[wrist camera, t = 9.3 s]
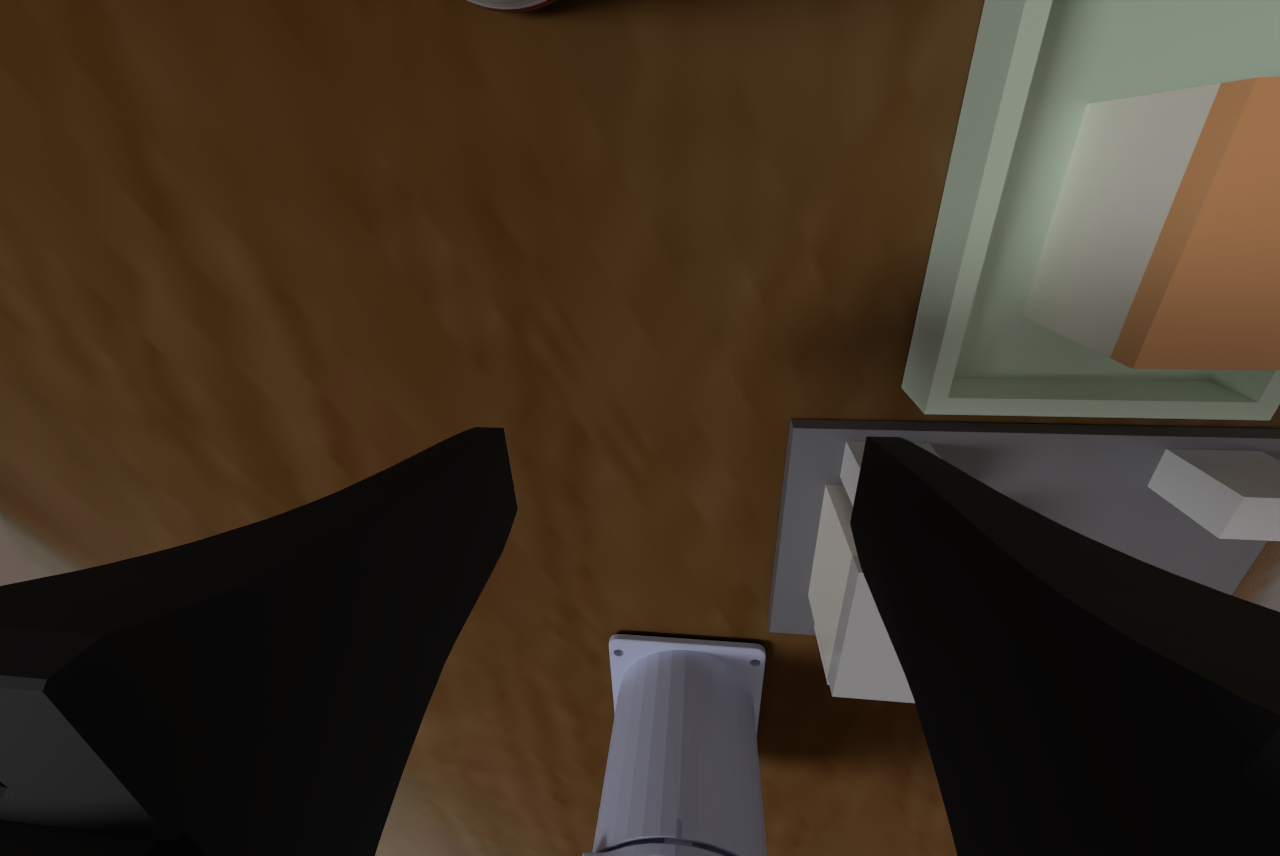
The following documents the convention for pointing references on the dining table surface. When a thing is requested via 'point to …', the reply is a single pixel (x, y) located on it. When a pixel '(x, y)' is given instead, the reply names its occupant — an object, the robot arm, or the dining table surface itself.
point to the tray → (1028, 193)
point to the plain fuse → (850, 613)
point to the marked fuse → (1170, 231)
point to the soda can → (511, 5)
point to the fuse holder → (1058, 491)
